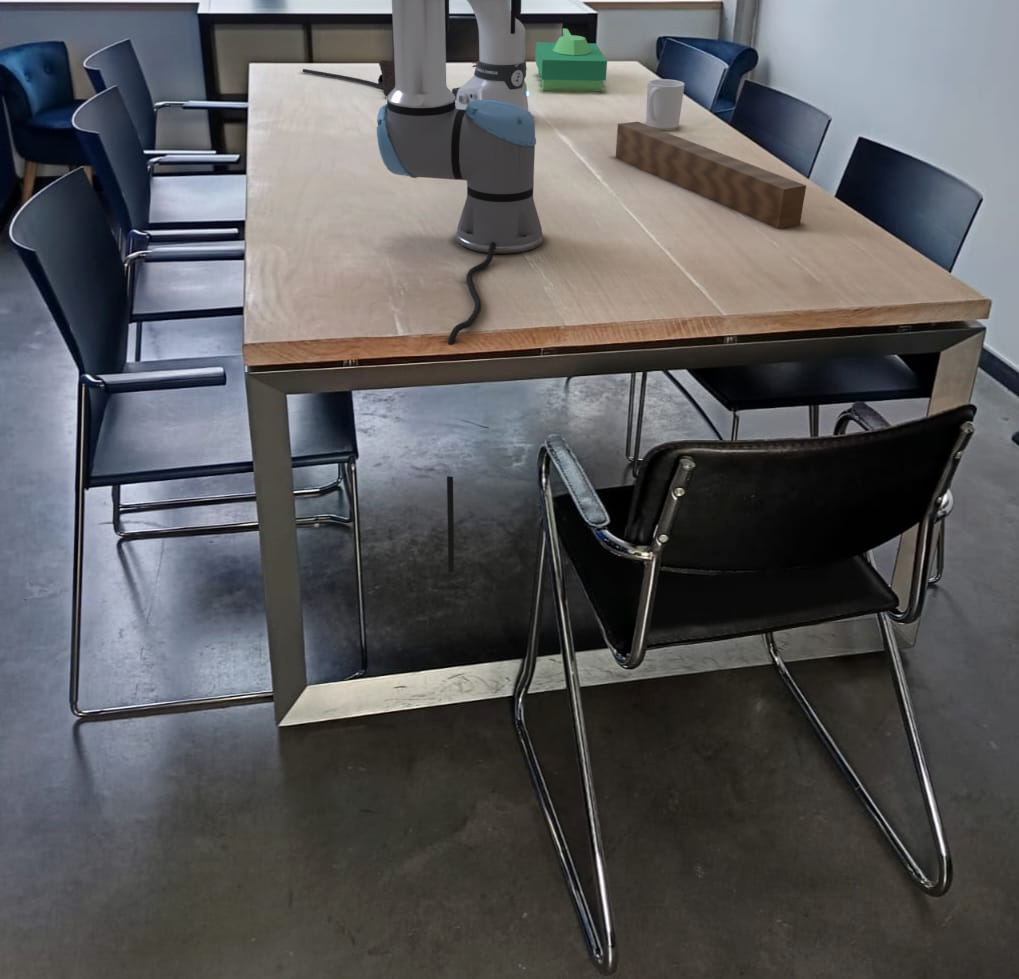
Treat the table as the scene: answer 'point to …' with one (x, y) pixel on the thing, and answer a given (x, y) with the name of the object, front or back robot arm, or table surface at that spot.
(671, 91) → the mug
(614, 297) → the table surface
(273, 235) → the table surface
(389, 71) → the axe head
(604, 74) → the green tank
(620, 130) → the post
